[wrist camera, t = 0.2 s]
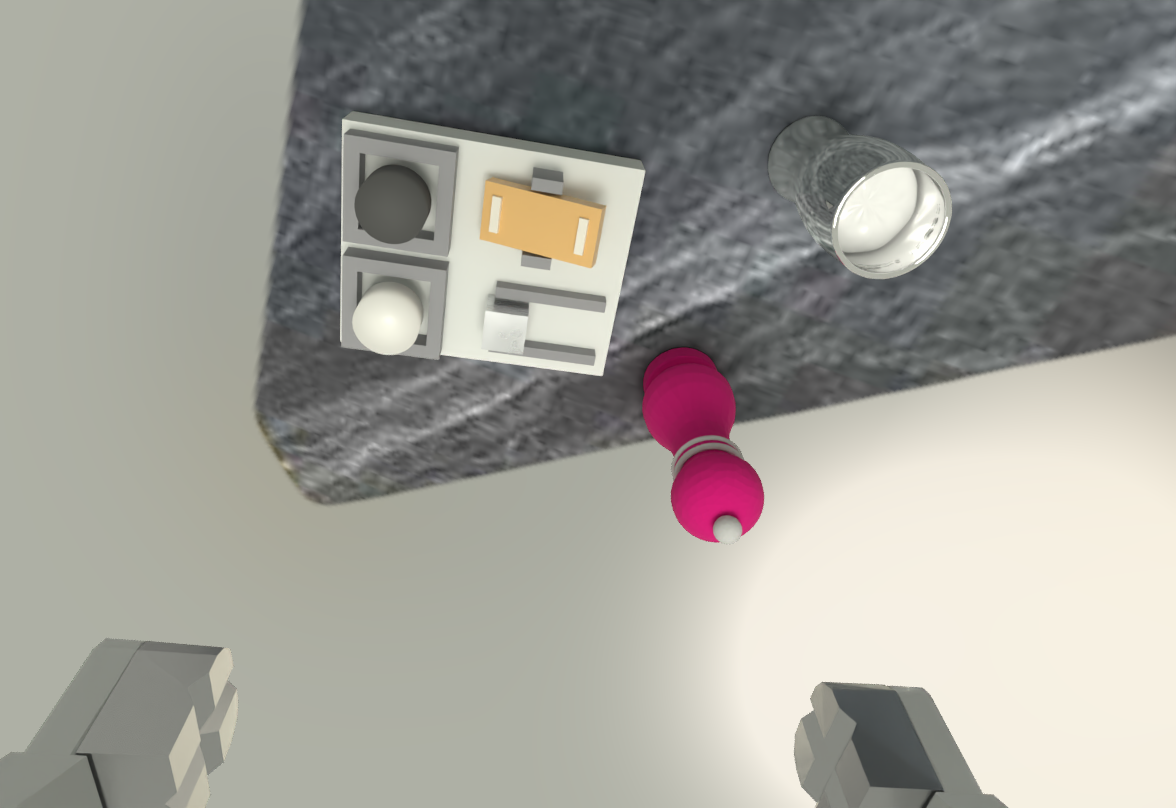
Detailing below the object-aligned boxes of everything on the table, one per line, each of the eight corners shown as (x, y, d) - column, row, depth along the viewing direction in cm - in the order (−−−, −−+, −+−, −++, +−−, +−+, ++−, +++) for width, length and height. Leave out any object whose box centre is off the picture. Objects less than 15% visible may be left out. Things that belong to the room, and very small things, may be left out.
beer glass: (796, 227, 56) (870, 306, 43) (741, 157, 53) (803, 220, 40) (875, 162, 54) (979, 225, 41) (823, 86, 51) (916, 128, 38)
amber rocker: (492, 177, 50) (483, 181, 48) (606, 205, 49) (601, 210, 47) (486, 234, 52) (477, 240, 50) (595, 263, 51) (590, 270, 49)
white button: (361, 277, 51) (352, 291, 49) (425, 286, 52) (420, 300, 50) (359, 334, 53) (351, 350, 51) (421, 342, 54) (416, 358, 52)
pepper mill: (621, 398, 63) (649, 562, 46) (663, 327, 60) (710, 475, 43) (694, 428, 65) (748, 596, 48) (739, 361, 62) (813, 516, 45)
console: (352, 111, 50) (331, 127, 45) (640, 160, 53) (650, 181, 48) (349, 324, 58) (331, 358, 53) (600, 358, 61) (604, 393, 56)
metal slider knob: (488, 294, 54) (485, 310, 52) (529, 300, 55) (528, 316, 52) (484, 331, 56) (481, 349, 53) (523, 336, 56) (522, 354, 54)
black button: (363, 159, 47) (354, 168, 45) (433, 170, 48) (428, 180, 46) (362, 226, 49) (353, 238, 47) (429, 236, 50) (423, 249, 48)
